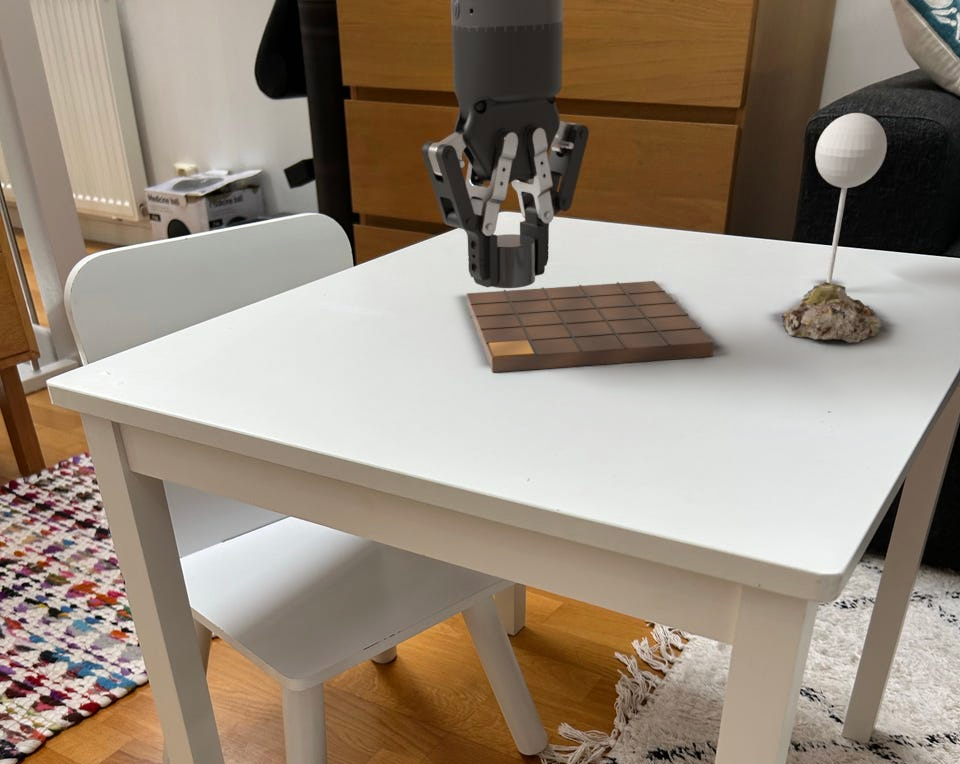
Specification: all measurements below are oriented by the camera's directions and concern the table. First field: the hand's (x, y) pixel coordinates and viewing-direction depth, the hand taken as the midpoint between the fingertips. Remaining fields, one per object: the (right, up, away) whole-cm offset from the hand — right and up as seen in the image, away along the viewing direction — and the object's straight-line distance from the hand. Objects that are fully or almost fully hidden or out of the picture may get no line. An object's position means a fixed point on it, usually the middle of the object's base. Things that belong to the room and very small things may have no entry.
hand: (509, 277), depth 76 cm
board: (+7, -1, +10) cm, 12 cm away
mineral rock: (+28, -1, +9) cm, 29 cm away
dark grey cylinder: (0, 0, 0) cm, 0 cm away
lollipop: (+31, +5, +17) cm, 36 cm away
